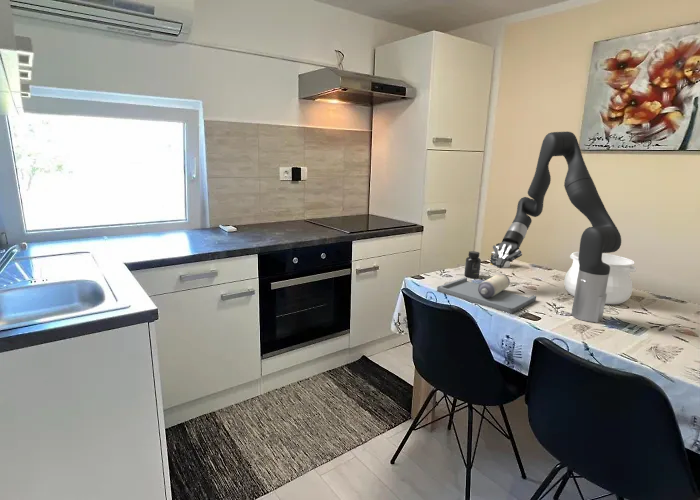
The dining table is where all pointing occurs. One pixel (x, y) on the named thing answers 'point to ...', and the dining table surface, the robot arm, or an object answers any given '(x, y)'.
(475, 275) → the supplement bottle
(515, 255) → the robot arm
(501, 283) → the aerosol can
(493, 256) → the medicine bottle
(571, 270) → the pot
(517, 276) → the dining table surface
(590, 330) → the dining table surface
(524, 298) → the tray
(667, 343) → the dining table surface
